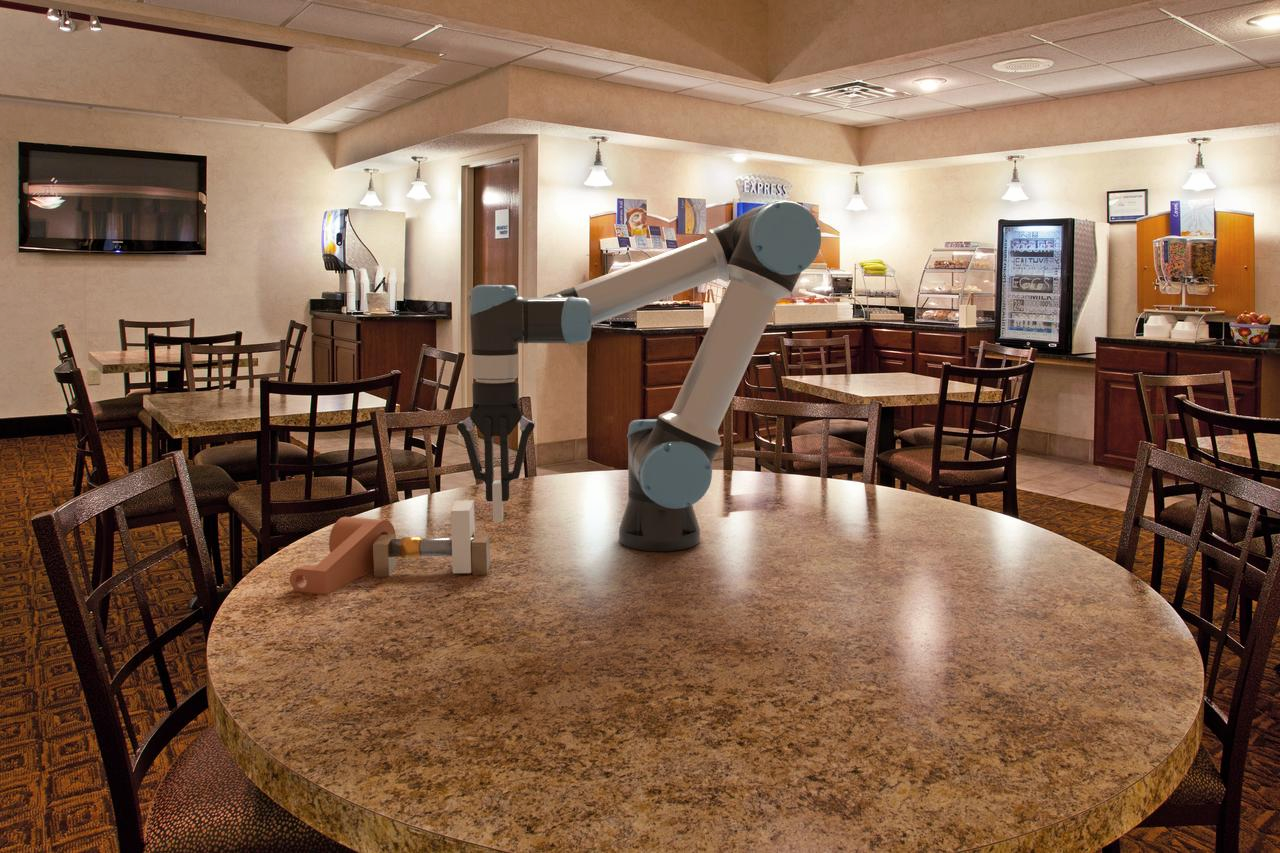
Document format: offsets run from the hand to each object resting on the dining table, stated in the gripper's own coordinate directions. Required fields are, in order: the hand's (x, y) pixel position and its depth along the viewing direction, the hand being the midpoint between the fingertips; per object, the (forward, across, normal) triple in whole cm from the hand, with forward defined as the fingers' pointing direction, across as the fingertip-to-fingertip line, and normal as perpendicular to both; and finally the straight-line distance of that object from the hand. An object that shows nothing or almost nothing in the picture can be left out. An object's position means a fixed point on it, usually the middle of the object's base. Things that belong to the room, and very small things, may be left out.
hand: (498, 519), depth 156 cm
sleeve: (+9, +6, 0) cm, 10 cm away
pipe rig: (+9, +11, 0) cm, 14 cm away
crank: (+9, +26, 0) cm, 27 cm away
